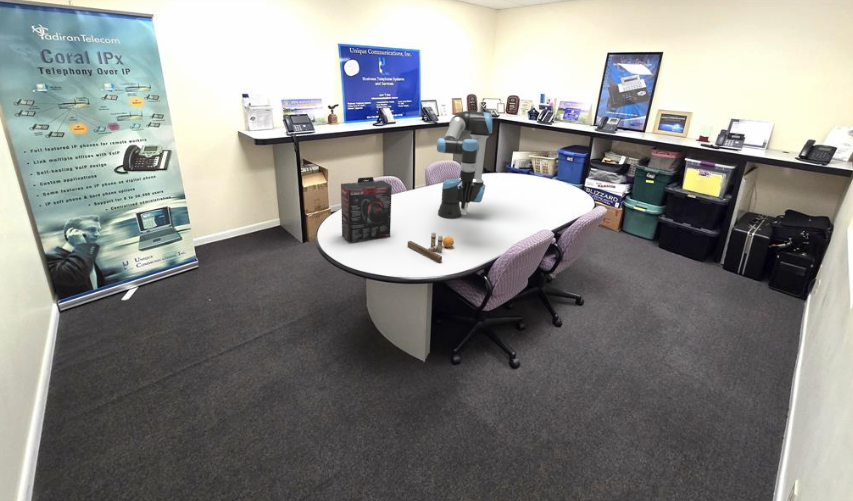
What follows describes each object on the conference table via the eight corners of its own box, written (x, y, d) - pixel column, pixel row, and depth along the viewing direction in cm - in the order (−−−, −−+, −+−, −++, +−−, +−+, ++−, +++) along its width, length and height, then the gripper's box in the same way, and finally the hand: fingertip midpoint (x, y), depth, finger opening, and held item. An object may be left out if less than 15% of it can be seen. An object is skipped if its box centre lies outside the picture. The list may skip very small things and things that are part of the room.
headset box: (382, 229, 239) (382, 173, 226) (391, 237, 230) (392, 178, 216) (341, 235, 227) (339, 176, 214) (349, 244, 218) (347, 182, 204)
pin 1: (432, 247, 220) (433, 232, 216) (436, 248, 218) (437, 233, 215) (429, 248, 218) (430, 233, 215) (432, 249, 217) (433, 234, 213)
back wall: (410, 245, 220) (410, 240, 219) (441, 261, 204) (442, 256, 203) (407, 246, 219) (407, 241, 217) (438, 263, 203) (439, 257, 201)
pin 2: (439, 250, 216) (440, 235, 213) (442, 252, 215) (443, 236, 211) (435, 251, 215) (437, 236, 211) (439, 253, 213) (440, 238, 210)
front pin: (439, 243, 219) (428, 247, 213) (443, 245, 217) (431, 248, 212) (439, 247, 220) (427, 251, 214) (442, 249, 218) (431, 253, 213)
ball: (438, 243, 220) (445, 246, 224) (446, 247, 216) (452, 250, 221) (443, 233, 220) (449, 236, 224) (451, 237, 216) (457, 240, 220)
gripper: (464, 173, 206) (460, 218, 215) (481, 170, 214) (476, 213, 223) (453, 170, 210) (450, 214, 220) (470, 167, 219) (466, 209, 228)
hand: (463, 214), depth 222 cm, fingers closed
